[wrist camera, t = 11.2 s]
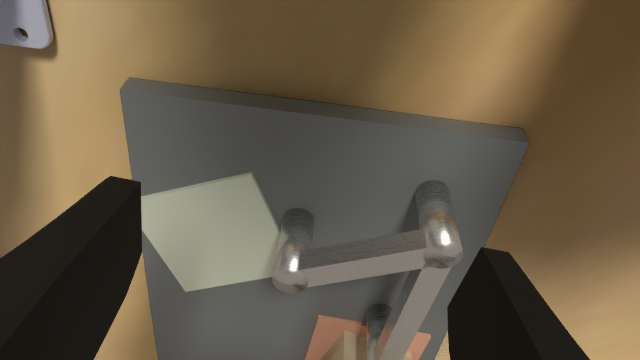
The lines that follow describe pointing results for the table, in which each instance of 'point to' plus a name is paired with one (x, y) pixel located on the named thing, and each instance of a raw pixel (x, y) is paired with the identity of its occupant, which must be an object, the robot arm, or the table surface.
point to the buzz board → (287, 193)
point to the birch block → (351, 348)
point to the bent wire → (378, 266)
